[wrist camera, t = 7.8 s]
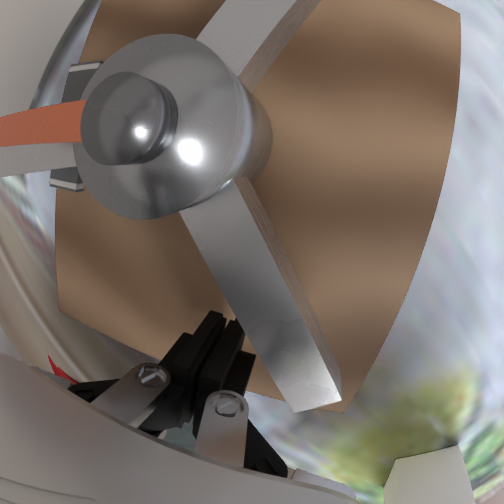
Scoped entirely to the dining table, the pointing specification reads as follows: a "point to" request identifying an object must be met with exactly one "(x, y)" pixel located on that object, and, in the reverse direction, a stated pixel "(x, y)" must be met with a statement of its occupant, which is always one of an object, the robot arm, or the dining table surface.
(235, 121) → the capstan
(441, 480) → the milk
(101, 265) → the board
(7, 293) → the dining table surface
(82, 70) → the level window
